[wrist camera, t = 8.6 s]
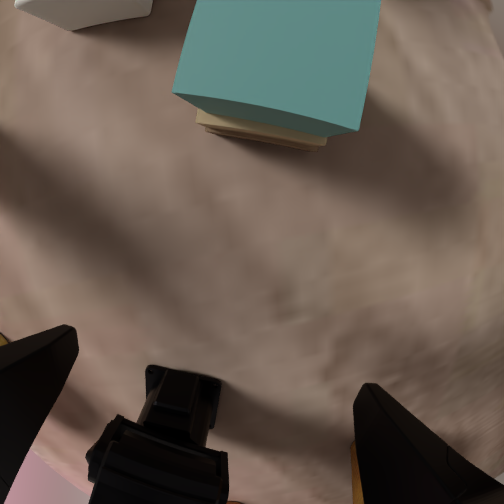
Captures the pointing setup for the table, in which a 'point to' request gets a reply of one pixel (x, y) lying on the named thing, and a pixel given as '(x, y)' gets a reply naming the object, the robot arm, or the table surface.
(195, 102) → the teal block
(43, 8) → the medicine bottle
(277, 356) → the table surface
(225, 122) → the tower top
